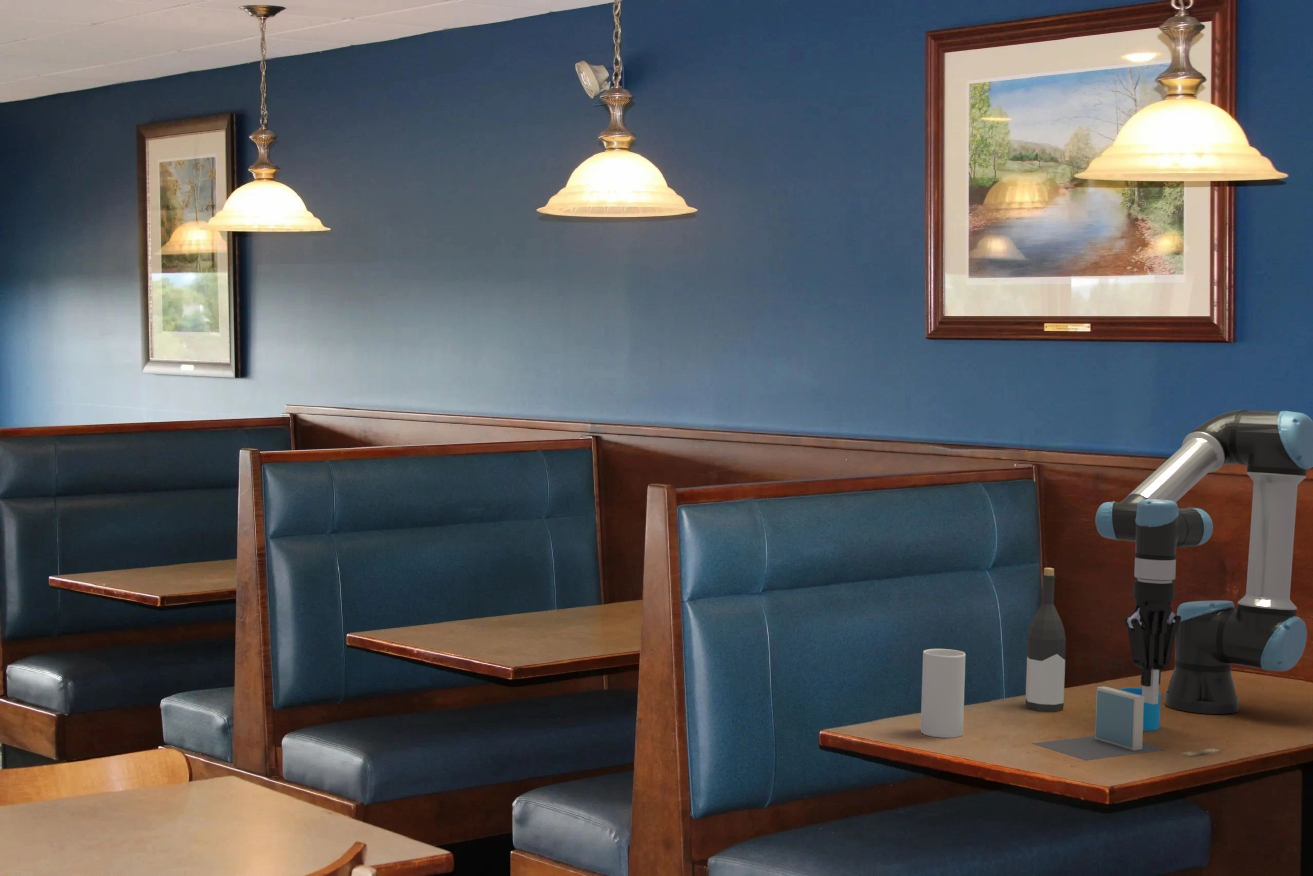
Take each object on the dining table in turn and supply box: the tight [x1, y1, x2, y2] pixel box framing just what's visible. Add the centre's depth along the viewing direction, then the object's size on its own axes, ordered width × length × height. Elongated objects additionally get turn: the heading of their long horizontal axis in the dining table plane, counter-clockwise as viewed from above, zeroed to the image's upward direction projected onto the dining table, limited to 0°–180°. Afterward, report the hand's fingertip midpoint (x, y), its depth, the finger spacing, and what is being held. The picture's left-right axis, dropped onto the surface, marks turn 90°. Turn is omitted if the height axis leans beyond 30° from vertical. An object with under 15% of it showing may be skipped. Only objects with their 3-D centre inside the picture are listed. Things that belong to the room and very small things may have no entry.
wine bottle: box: [1025, 567, 1067, 713], centre depth 334 cm, size 8×8×30 cm
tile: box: [1094, 686, 1144, 750], centre depth 297 cm, size 2×10×10 cm, turn 29°
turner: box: [1182, 748, 1222, 758], centre depth 289 cm, size 16×6×2 cm, turn 118°
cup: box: [920, 648, 966, 739], centre depth 308 cm, size 8×8×16 cm
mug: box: [1118, 687, 1162, 732], centre depth 315 cm, size 12×8×8 cm
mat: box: [1032, 735, 1165, 761], centre depth 295 cm, size 20×14×1 cm
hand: (1149, 702), depth 301 cm, fingers closed
